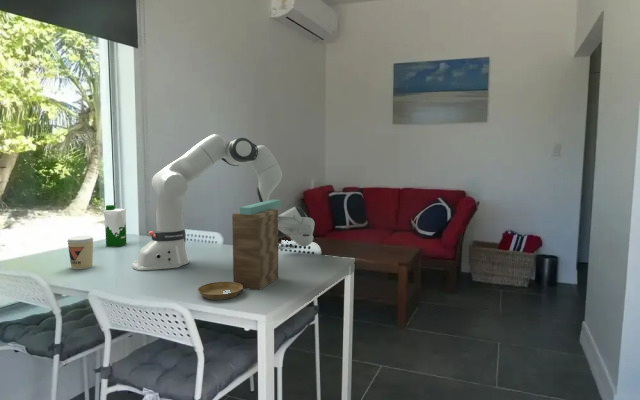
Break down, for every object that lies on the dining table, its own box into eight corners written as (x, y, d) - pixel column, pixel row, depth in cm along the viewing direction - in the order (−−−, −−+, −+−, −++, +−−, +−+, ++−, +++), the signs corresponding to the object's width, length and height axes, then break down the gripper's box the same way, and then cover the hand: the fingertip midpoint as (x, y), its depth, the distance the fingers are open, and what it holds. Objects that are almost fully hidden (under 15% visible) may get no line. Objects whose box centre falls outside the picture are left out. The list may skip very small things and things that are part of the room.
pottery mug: (293, 250, 226) (284, 236, 224) (276, 257, 228) (267, 244, 226) (295, 239, 238) (287, 225, 235) (279, 246, 240) (271, 233, 237)
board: (272, 205, 185) (272, 199, 185) (281, 205, 184) (281, 199, 183) (239, 214, 160) (239, 207, 160) (250, 214, 159) (250, 207, 159)
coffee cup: (63, 268, 188) (61, 239, 187) (82, 263, 197) (81, 235, 196) (81, 270, 185) (79, 240, 184) (99, 265, 194) (98, 236, 192)
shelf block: (254, 275, 179) (253, 208, 176) (278, 277, 176) (277, 209, 173) (233, 286, 164) (232, 213, 161) (259, 289, 161) (258, 215, 158)
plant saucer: (188, 298, 152) (188, 290, 152) (215, 286, 166) (215, 279, 165) (226, 305, 146) (225, 296, 146) (251, 291, 160) (251, 284, 160)
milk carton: (111, 243, 237) (109, 204, 235) (129, 243, 237) (127, 204, 235) (103, 247, 228) (101, 206, 226) (121, 247, 228) (119, 206, 226)
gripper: (274, 219, 208) (262, 207, 196) (318, 222, 202) (308, 209, 190) (271, 232, 206) (259, 221, 194) (315, 236, 199) (305, 224, 187)
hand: (284, 215), depth 192 cm, fingers open, 8 cm apart
